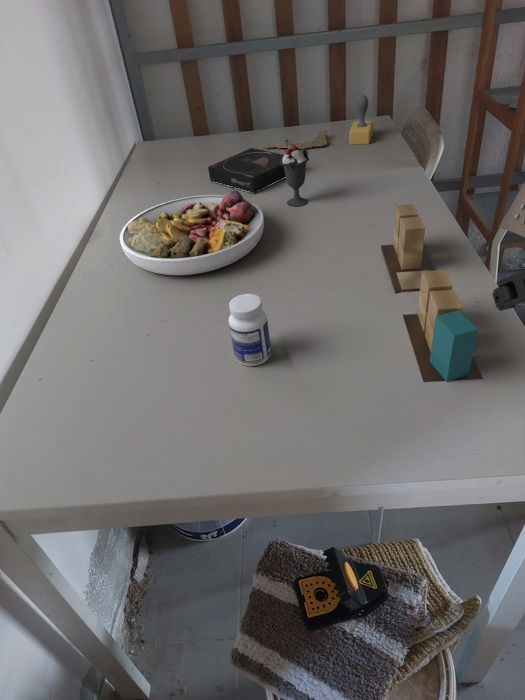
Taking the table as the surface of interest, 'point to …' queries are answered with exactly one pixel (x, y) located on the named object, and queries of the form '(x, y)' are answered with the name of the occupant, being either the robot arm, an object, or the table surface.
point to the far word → (407, 250)
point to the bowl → (193, 234)
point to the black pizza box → (249, 170)
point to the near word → (433, 322)
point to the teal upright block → (453, 345)
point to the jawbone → (317, 142)
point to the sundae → (295, 172)
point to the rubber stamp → (361, 124)
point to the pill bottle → (249, 330)
